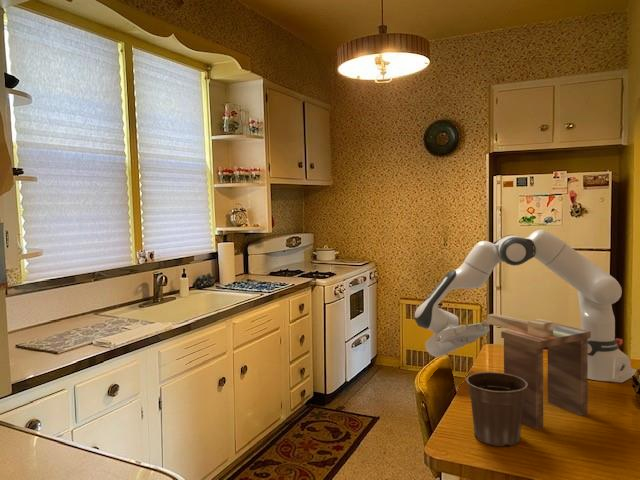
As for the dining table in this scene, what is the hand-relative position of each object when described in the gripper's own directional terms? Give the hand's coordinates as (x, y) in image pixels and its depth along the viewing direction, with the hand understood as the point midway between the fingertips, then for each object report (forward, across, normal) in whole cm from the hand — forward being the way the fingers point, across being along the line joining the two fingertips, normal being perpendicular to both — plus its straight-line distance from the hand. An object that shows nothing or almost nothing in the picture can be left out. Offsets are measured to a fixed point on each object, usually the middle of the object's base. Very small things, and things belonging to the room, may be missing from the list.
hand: (476, 325), depth 175 cm
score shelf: (+13, +1, +33) cm, 36 cm away
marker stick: (+21, -4, +8) cm, 23 cm away
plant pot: (+16, -23, +36) cm, 45 cm away
